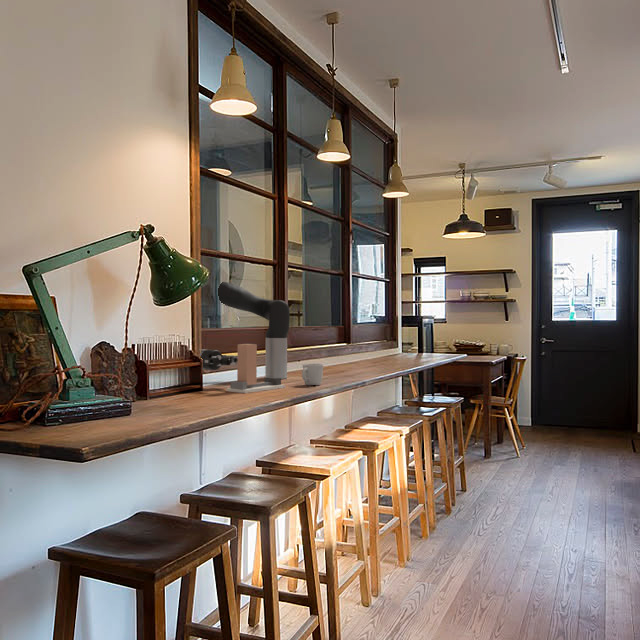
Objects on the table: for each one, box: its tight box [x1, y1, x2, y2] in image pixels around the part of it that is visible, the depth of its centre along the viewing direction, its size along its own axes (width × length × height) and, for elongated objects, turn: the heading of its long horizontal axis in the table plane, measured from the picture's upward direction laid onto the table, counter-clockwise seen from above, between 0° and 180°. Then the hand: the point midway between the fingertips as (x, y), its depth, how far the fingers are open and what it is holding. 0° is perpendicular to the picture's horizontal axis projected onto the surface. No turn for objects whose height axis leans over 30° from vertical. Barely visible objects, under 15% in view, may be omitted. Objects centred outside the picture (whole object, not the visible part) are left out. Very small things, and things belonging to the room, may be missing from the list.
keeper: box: [236, 343, 258, 385], centre depth 212 cm, size 5×4×14 cm
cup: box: [301, 363, 324, 386], centre depth 230 cm, size 11×8×8 cm
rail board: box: [226, 376, 286, 394], centre depth 216 cm, size 21×9×4 cm, turn 143°
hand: (238, 361), depth 214 cm, fingers open, 8 cm apart
